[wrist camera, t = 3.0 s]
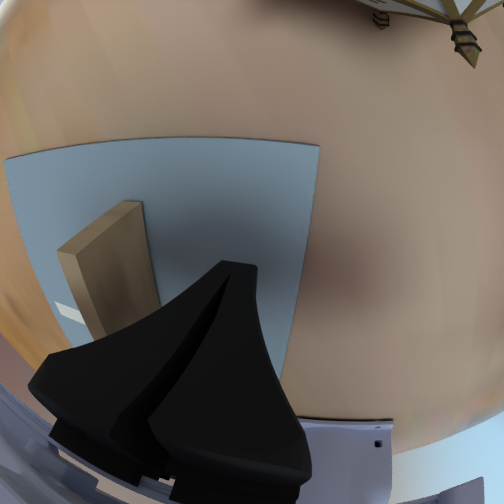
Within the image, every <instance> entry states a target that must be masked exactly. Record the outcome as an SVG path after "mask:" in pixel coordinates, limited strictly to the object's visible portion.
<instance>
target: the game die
mask: <svg viewBox="0 0 504 504" xmlns="http://www.w3.org/2000/svg"><path fill="white" fill-rule="evenodd" d="M352 1H354V2H357V3H360V4H362V5H365V6H367V7H370V8H372V9H375V10H377V11H376V13H375V14H373V16H374V19H373V20H372V21H374V22H375V23H376V24H377V25H378V27H379V28H380V29H381V30H382V29H384V28H385V27H387V26H389V15H387V13H393V14H400V15H406V16H412V17H417V18H422V19H427V20H431V21H436V22H440V23H443V24H447V25H450V26H451V28H452V36H451V40H452V41H454V42H455V46H456V47H455V49H454V50H455V52H458V53H460V54H461V55H462V56H463V57H464V58H465V59H466V61H467V62H468V63H469V64H470V65H471V66H472V67H473V68H474V69H475V67H476V63H477V60H478V56H479V52H481V51H482V49H481V48H480V47H479V46H478V45H477V43H476V41H475V40H477V38H476V36H475V35H474V34H473V33H472V32H471V31H469V29H468V27H467V23H469V22H471V21H472V20H474V19H476V18H478V17H479V16H481V15H483V14H484V13H486V12H488V11H490V10H492V9H493V8H495V7H497V6H499V5H501V4H503V7H504V0H352Z"/></svg>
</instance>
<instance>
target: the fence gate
mask: <svg viewBox="0 0 504 504" xmlns="http://www.w3.org/2000/svg"><path fill="white" fill-rule="evenodd" d="M56 253H57V256H58V259H59V262H60V265H61V267H62V270H63V273H64V275H65V278H66V281H67V283H68V286H69V288H70V290H71V293H72V295H73V298H74V300H75V302H76V305H77V307H78V309H79V311H80V313H81V315H82V318H83V320H84V322H85V324H86V326H87V328H88V330H89V332H90V334H91V336H92V338H93V340H94V341H95V340H98V339H101V338H103V337H106V336H108V335H110V334H113V333H115V332H117V331H119V330H121V329H123V328H125V327H127V326H129V325H131V324H133V323H135V322H137V321H139V320H141V319H143V318H145V317H146V316H148V315H150V314H151V313H153V312H155V311H156V310H158V309H159V308H160V304H159V300H158V295H157V291H156V286H155V282H154V277H153V272H152V267H151V262H150V256H149V251H148V245H147V239H146V233H145V227H144V220H143V213H142V206H141V202H127V201H121V202H120V203H118V204H117V205H115V206H114V207H113V208H111V209H110V210H108V211H107V212H105V213H104V214H103V215H101V216H100V217H98V218H97V219H96V220H94V221H93V222H92V223H90V224H89V225H88V226H86V227H85V228H84V229H82V230H81V231H80V232H79V233H77V234H76V235H75V236H73V237H72V238H71V239H70V240H68V241H67V242H66V243H65V244H63V245H62V246H61V247H60V248H59V249H57V250H56Z"/></svg>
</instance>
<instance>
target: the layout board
mask: <svg viewBox="0 0 504 504" xmlns="http://www.w3.org/2000/svg"><path fill="white" fill-rule="evenodd" d="M319 149H320V146H319V145H312V144H304V143H295V142H286V141H276V140H264V139H249V138H229V137H160V138H140V139H126V140H115V141H105V142H96V143H88V144H81V145H74V146H68V147H62V148H56V149H50V150H45V151H40V152H35V153H31V154H26V155H22V156H18V157H13V158H10V159H6V160H4V167H5V173H6V178H7V183H8V188H9V192H10V197H11V201H12V205H13V209H14V213H15V216H16V220H17V223H18V226H19V230H20V233H21V236H22V239H23V242H24V245H25V248H26V251H27V253H28V256H29V259H30V261H31V264H32V267H33V269H34V272H35V274H36V276H37V279H38V281H39V283H40V286H41V288H42V290H43V292H44V294H45V297H46V299H47V301H48V303H49V305H50V307H51V309H52V311H53V313H54V315H55V317H56V319H57V320H58V322H59V324H60V326H61V328H62V330H63V331H64V333H65V335H66V337H67V338H68V340H69V342H70V343H71V345H72V347H73V348H75V347H78V346H81V345H84V344H87V343H90V342H93V341H94V340H93V338H92V336H91V334H90V332H89V330H88V328H87V326H86V324H85V322H84V320H83V318H82V315H81V313H80V311H79V309H78V307H77V305H76V302H75V300H74V298H73V295H72V293H71V290H70V288H69V286H68V283H67V281H66V278H65V275H64V273H63V270H62V267H61V265H60V262H59V259H58V256H57V253H56V250H57V249H59V248H60V247H61V246H62V245H63V244H65V243H66V242H67V241H68V240H70V239H71V238H72V237H73V236H75V235H76V234H77V233H79V232H80V231H81V230H82V229H84V228H85V227H86V226H88V225H89V224H90V223H92V222H93V221H94V220H96V219H97V218H98V217H100V216H101V215H103V214H104V213H105V212H107V211H108V210H110V209H111V208H113V207H114V206H115V205H117V204H118V203H120V202H121V201H127V202H141V206H142V213H143V220H144V227H145V233H146V239H147V245H148V251H149V256H150V262H151V267H152V272H153V277H154V282H155V286H156V291H157V295H158V300H159V304H160V308H161V307H162V306H164V305H165V304H167V303H168V302H170V301H171V300H172V299H174V298H175V297H177V296H178V295H179V294H181V293H182V292H183V291H185V290H186V289H187V288H188V287H190V286H191V285H192V284H193V283H195V282H196V281H197V280H198V279H199V278H201V277H202V276H203V275H204V274H205V273H207V272H208V271H209V270H210V269H211V268H212V267H214V266H215V265H216V264H217V263H218V262H220V261H221V260H226V261H233V262H240V263H247V264H254V265H256V266H257V267H258V276H257V290H256V302H257V309H258V315H259V320H260V325H261V329H262V333H263V337H264V341H265V344H266V347H267V351H268V354H269V357H270V360H271V362H272V365H273V367H274V370H275V372H276V375H277V377H278V380H280V375H281V371H282V367H283V363H284V358H285V354H286V349H287V345H288V340H289V335H290V331H291V326H292V321H293V316H294V311H295V306H296V301H297V296H298V290H299V285H300V280H301V274H302V268H303V263H304V257H305V251H306V245H307V239H308V232H309V226H310V219H311V212H312V205H313V198H314V191H315V183H316V175H317V167H318V158H319Z"/></svg>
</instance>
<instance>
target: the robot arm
mask: <svg viewBox="0 0 504 504" xmlns="http://www.w3.org/2000/svg"><path fill="white" fill-rule="evenodd" d="M257 276H258V267H257V266H256V265H254V264H247V263H240V262H233V261H226V260H221V261H220V262H218V263H217V264H216V265H215V266H214V267H212V268H211V269H210V270H209V271H208V272H207V273H205V274H204V275H203V276H202V277H201V278H199V279H198V280H197V281H196V282H195V283H193V284H192V285H191V286H190V287H188V288H187V289H186V290H185V291H183V292H182V293H181V294H179V295H178V296H177V297H175V298H174V299H172V300H171V301H170V302H168V303H167V304H165V305H164V306H162V307H161V308H159V309H158V310H156V311H155V312H153V313H151V314H150V315H148V316H146V317H145V318H143V319H141V320H139V321H137V322H135V323H133V324H131V325H129V326H127V327H125V328H123V329H121V330H119V331H117V332H115V333H113V334H110V335H108V336H106V337H103V338H101V339H98V340H95V341H93V342H90V343H87V344H84V345H81V346H78V347H75V348H71V349H67V350H64V351H60V352H56V353H52V354H49V355H48V356H47V358H46V359H45V360H44V362H43V363H42V365H41V366H40V367H39V369H38V370H37V372H36V373H35V375H34V376H33V377H32V379H31V381H30V382H29V384H28V389H29V391H30V392H31V393H32V395H34V397H35V398H36V399H37V400H38V401H39V402H40V403H41V404H42V405H43V406H44V407H46V409H47V410H49V411H50V412H51V413H52V414H53V415H54V416H55V417H56V418H57V421H56V422H55V424H54V426H53V425H51V424H50V423H48V422H47V421H46V420H45V419H43V418H42V417H41V416H39V415H38V414H37V413H35V412H34V411H33V410H32V409H30V408H29V407H28V406H27V405H26V404H24V403H23V402H22V401H21V400H20V399H18V398H17V397H16V396H15V395H14V394H13V393H12V392H11V391H10V390H8V389H7V388H6V387H5V386H4V385H3V384H2V383H1V382H0V504H128V503H126V502H124V501H122V500H119V499H118V498H115V497H113V496H111V495H109V494H107V493H105V492H103V491H101V490H99V489H98V488H96V486H97V484H98V479H97V478H95V477H94V476H92V475H91V474H89V473H88V472H86V471H84V470H82V469H81V468H79V467H78V466H76V465H74V464H73V463H71V462H69V461H67V460H66V459H64V458H63V457H61V456H60V455H59V452H58V448H59V449H60V450H61V451H63V452H64V453H66V454H67V455H69V456H70V457H72V458H73V459H75V460H77V461H78V462H80V463H82V464H83V465H85V466H86V467H88V468H90V469H91V470H93V471H95V472H97V473H98V474H100V475H102V476H104V477H106V478H108V479H110V480H112V481H114V482H116V483H117V484H120V485H122V486H124V487H126V488H128V489H130V490H132V491H135V492H137V493H139V494H142V495H144V496H146V497H149V498H152V499H154V500H156V501H159V502H162V503H165V504H387V503H388V500H389V497H390V494H391V488H392V450H391V430H390V429H391V428H392V427H393V426H394V422H393V421H374V422H349V421H324V420H310V419H299V418H297V417H296V415H295V413H294V411H293V410H292V408H291V406H290V404H289V402H288V400H287V398H286V395H285V393H284V391H283V389H282V387H281V385H280V382H279V380H278V377H277V375H276V372H275V370H274V367H273V365H272V362H271V360H270V357H269V354H268V351H267V347H266V344H265V341H264V337H263V333H262V329H261V325H260V320H259V315H258V309H257V302H256V290H257ZM159 478H162V479H165V480H169V479H170V478H172V479H175V482H174V485H173V486H170V485H167V484H164V483H162V482H159V481H158V480H159ZM398 504H484V480H483V477H479V478H476V479H474V480H471V481H469V482H466V483H464V484H461V485H458V486H455V487H453V488H450V489H448V490H445V491H442V492H440V493H439V494H436V495H432V496H429V497H425V498H421V499H417V500H412V501H408V502H403V503H398Z"/></svg>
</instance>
